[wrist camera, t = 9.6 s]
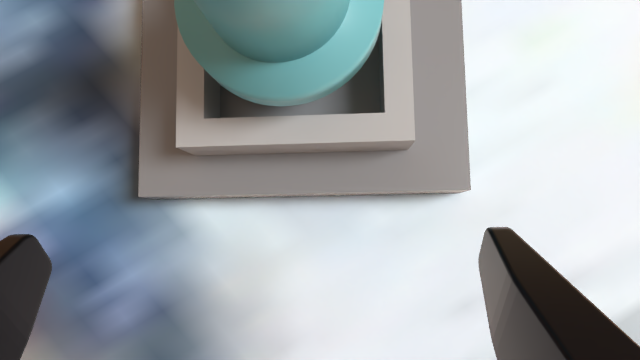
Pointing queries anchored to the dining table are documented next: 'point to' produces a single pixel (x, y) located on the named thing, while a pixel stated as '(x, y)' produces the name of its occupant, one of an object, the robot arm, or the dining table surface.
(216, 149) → the grey stepped base
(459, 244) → the dining table surface
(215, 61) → the teal plastic cylinder
